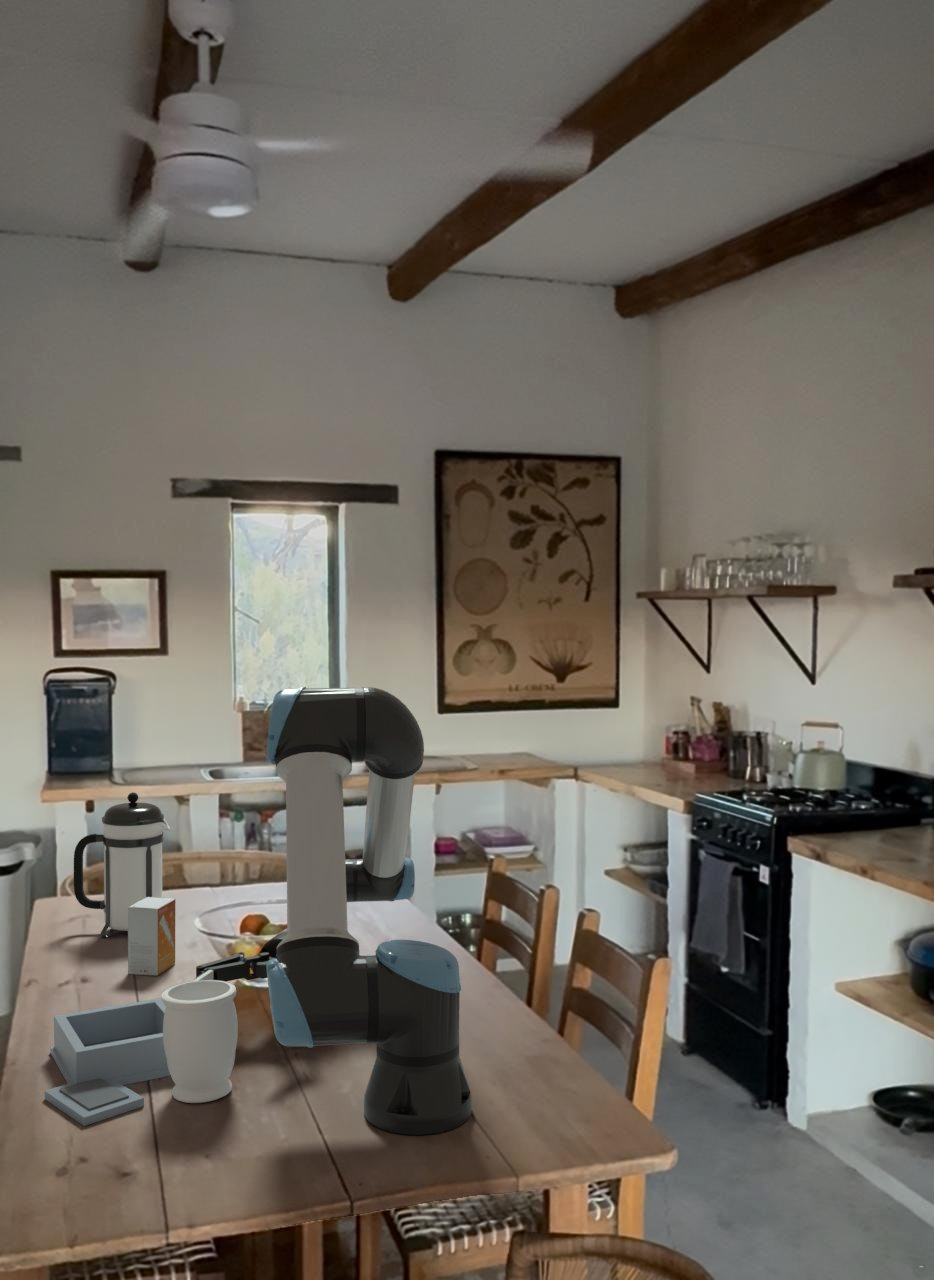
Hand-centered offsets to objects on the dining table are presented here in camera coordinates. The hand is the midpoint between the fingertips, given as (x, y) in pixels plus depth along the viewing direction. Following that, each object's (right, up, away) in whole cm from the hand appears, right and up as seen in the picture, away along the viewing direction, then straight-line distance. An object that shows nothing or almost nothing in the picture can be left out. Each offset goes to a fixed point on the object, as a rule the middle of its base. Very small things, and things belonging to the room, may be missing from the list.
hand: (231, 996), depth 179 cm
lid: (-17, -11, -12) cm, 24 cm away
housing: (-18, -11, +3) cm, 21 cm away
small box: (-25, -9, +48) cm, 55 cm away
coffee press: (-37, -8, +73) cm, 83 cm away
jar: (-3, -12, -9) cm, 15 cm away
